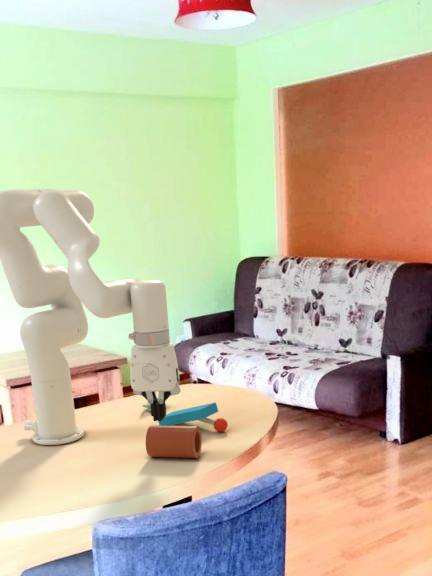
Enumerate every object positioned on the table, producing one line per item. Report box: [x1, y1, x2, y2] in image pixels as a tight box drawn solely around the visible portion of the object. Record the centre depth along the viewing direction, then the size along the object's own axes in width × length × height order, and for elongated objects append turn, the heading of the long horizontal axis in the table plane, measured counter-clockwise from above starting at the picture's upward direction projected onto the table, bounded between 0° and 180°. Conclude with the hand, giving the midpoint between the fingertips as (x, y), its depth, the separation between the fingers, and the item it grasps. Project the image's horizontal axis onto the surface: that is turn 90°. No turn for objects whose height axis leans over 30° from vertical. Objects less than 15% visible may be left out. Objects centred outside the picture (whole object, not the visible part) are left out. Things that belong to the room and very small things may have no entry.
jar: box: [145, 425, 203, 459], centre depth 165 cm, size 7×7×11 cm
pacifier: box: [141, 397, 158, 412], centre depth 203 cm, size 7×6×6 cm
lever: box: [157, 402, 229, 433], centre depth 185 cm, size 7×7×18 cm
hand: (159, 419), depth 164 cm, fingers closed
